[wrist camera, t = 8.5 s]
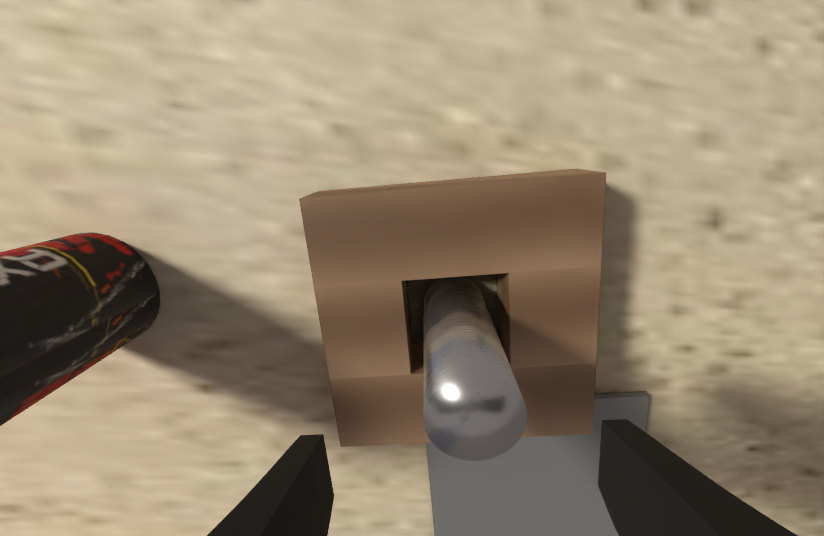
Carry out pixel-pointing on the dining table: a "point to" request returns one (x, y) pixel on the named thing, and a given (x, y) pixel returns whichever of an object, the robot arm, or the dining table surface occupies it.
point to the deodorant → (67, 312)
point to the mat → (531, 482)
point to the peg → (467, 376)
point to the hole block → (453, 257)
